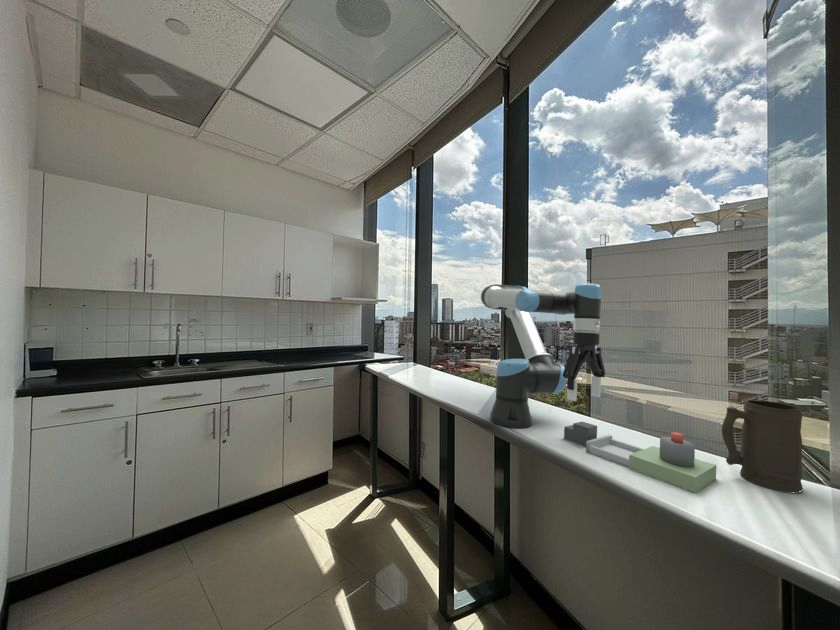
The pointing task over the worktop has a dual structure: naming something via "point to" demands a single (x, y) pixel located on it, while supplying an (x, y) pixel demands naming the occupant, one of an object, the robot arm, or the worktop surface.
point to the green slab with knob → (659, 460)
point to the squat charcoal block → (580, 432)
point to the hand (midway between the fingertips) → (584, 398)
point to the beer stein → (767, 444)
